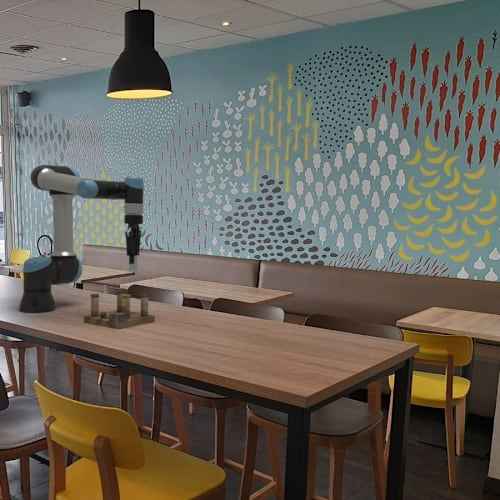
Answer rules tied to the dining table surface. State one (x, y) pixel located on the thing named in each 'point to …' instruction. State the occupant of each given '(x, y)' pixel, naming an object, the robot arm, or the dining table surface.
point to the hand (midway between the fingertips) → (132, 271)
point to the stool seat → (119, 319)
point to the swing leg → (124, 307)
